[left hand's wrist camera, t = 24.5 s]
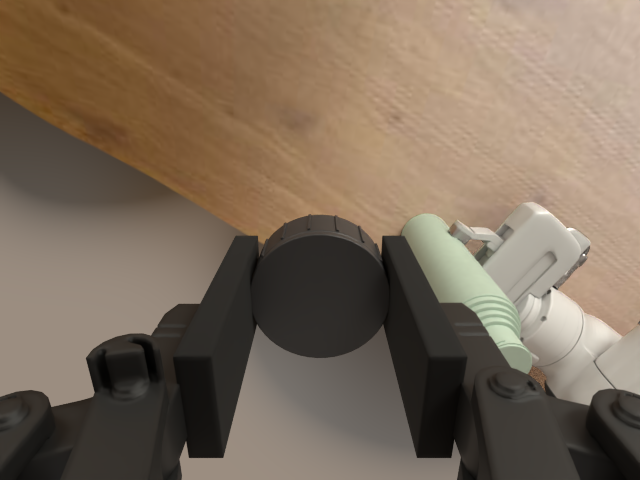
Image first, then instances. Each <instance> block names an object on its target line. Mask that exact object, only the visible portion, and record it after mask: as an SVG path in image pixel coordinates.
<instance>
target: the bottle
mask: <svg viewBox="0 0 640 480" xmlns="http://www.w3.org/2000/svg"><path fill="white" fill-rule="evenodd" d="M449 229H450V228H449V227H448V226H447V224H446V223H445V222H444V221H443V220H442V219H441V218H440V217H438V216H436V215H433V214H420V215H417V216H415V217H413V218H412V219H410V220H409V221H408V222H407V223H406V225H405V226H404V228H403V230H402V234H401V236H405V238H406V240H407V242H408V243H409V245H410V247H411V249H412V251H413V253H414V255H415V257H416V259H417V261H418V263H419V265H420V266H421V268H422V270H423V272H424V274H425V276H426V278H427V280H428V282H429V284H430V286H431V288H432V289H433V291H434V293H435V295H436V297H437V299H438V301H439V303H463V304H464V305H466V306H467V307H468V308H470V309H471V310H473V311H474V312H475V313H476V314H477V316H478V317H479V319H480V320H481V322H482V323H483V326H485V328H486V330H487V331H488V333H489V336H491V337H492V339H493V340H494V342H495V343H496V345H497V346H498V348H499V349H500V351H501V353H502V354H503V356H504V357H505V359H506V360H507V362H508V363H509V365H510V366H511V368H514V369H517V370H519V371H522V372H524V373H526V374H528V373H529V371H530V369H531V367H532V355H531V353H530V351H529V349H528V348H527V347H525V346H524V345H523V344H522V342H521V341H520V331H521V320H520V317H519V314H518V311H517V309H516V307H515V306H514V304H513V303H512V302H511V301H510V300H509V298H508V297H507V296H506V295H505V294H504V292H503V291H502V290H501V289H500V288H499V287H498V285H497V284H496V283H495V282H494V281H493V279H492V278H491V277H490V276H489V275H488V273H487V272H486V271H485V270H484V269H483V267H482V266H481V265H480V264H479V263H478V261H477V260H476V259H475V258H474V257H473V255H472V254H471V253H470V252H469V251H468V249H467V248H466V247H465V246H464V245H463V243H462V242H460V241H459V239H456V238H454V237H453V236H452V235H451V234H450V232H448V230H449Z"/></svg>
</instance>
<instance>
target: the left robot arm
mask: <svg viewBox="0 0 640 480" xmlns="http://www.w3.org/2000/svg"><path fill="white" fill-rule="evenodd" d="M381 257H382V260H383V265H384V269H385V272H386V275H387V278H388V281H389V285H390V293H389V307H388V314H387V316H386V319H385V321H384V323H383V325H384V329H385V333H386V337H387V341H388V345H389V349H390V352H391V356H392V360H393V364H394V368H395V372H396V376H397V380H398V384H399V388H400V392H401V396H402V400H403V404H404V408H405V412H406V416H407V420H408V424H409V428H410V432H411V436H412V440H413V443H414V448H415V452H416V456H417V458H451V456H452V450H453V444H454V439H455V442H456V445H457V447H458V450H459V453H460V455H461V461H460V466H459V472H458V478H457V480H640V395H638V394H636V393H632V392H629V391H626V390H620V389H611V388H609V389H604V390H599V391H598V392H596V393H595V394H594V395H593V397H592V400H591V403H590V406H589V405H585V404H580V403H576V402H571V401H567V400H562V399H558V398H555V397H551V396H548V395H546V393H545V391H544V390H543V388H542V387H541V385H540V384H539V383H538V382H537V381H536V380H535V379H533V378H532V377H531V376H530V375H528V374H526V373H524V372H522V371H519V370H517V369H514V368H511V366H510V365H509V363H508V362H507V360H506V359H505V357H504V356H503V354H502V353H501V351H500V349H499V348H498V346H497V345H496V343H495V342H494V340H493V339H492V337H491V336H489V333H488V331H487V330H486V328H485V326H483V323H482V322H481V320H480V319H479V317H478V316H477V314H476V313H475V312H474V311H473V310H471V309H470V308H468V307H467V306H466V305H464V304H463V303H439V301H438V299H437V297H436V295H435V293H434V291H433V289H432V288H431V286H430V284H429V282H428V280H427V278H426V276H425V274H424V272H423V270H422V268H421V266H420V265H419V263H418V261H417V259H416V257H415V255H414V253H413V251H412V249H411V247H410V245H409V243H408V242H407V240H406V238H405V236H383V237H382V253H381ZM258 260H259V249H258V236H235V238H234V240H233V242H232V244H231V246H230V248H229V250H228V252H227V254H226V256H225V257H224V259H223V261H222V263H221V265H220V267H219V269H218V271H217V273H216V275H215V277H214V278H213V281H212V282H211V284H210V286H209V288H208V290H207V292H206V294H205V296H204V298H203V300H202V302H201V303H200V304H178V305H177V306H175V307H174V308H173V309H171V310H170V311H168V312H167V313H166V314H165V315H164V316H163V318H162V319H161V321H160V322H159V324H158V327H157V328H156V329H155V330H154V332H153V333H152V335H151V336H150V335H146V334H127V335H122V336H118V337H115V338H112V339H110V340H108V341H105V342H103V343H102V344H100V345H99V346H97V347H96V348H94V349H93V350H92V351H91V352H90V354H89V355H88V356H87V357H86V360H87V364H88V368H89V372H90V376H91V380H92V383H93V387H94V391H95V393H94V396H93V397H91V398H88V399H85V400H81V401H77V402H72V403H68V404H63V405H59V406H54V407H51V405H50V402H49V399H48V397H47V396H46V395H45V394H44V393H42V392H39V391H33V390H28V391H19V392H14V393H11V394H8V395H5V396H2V397H0V480H181V479H182V473H181V466H180V461H179V458H180V456H181V453H182V450H183V447H184V445H185V442H187V448H188V455H189V458H223V457H224V453H225V449H226V445H227V441H228V437H229V433H230V429H231V425H232V421H233V417H234V413H235V409H236V405H237V401H238V397H239V393H240V389H241V385H242V381H243V377H244V373H245V369H246V365H247V361H248V358H249V354H250V350H251V346H252V342H253V338H254V334H255V330H256V326H257V323H256V321H255V318H254V316H253V314H252V303H251V288H250V287H251V281H252V277H253V274H254V271H255V268H256V265H257V262H258Z"/></svg>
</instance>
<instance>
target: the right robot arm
mask: <svg viewBox="0 0 640 480" xmlns="http://www.w3.org/2000/svg"><path fill="white" fill-rule="evenodd" d="M448 232H450V234H451V235H452V236H453V237H454V238H456V239H459V241H460V242H462V243H463V244H464V245H465V244H466V243H467V242H468V241H469V240H470V239H475V240H481V241H482V242H483V243H484V244H483V245H482V246H481V248H480V249H479V250H478V251H477V252H476V253H475V254H474V255H473V257H474V258H475V259H476V260H477V261H478V263H479V264H480V265H481V266H482V267H483V269H484V270H485V271H486V272H487V273H488V275H489V276H490V277H491V278H492V279H493V281H494V282H495V283H496V284H497V285H498V287H499V288H500V289H501V290H502V291H503V292H504V294H505V295H506V296H507V297H508V298H509V300H510V301H511V302H512V303H513V304H514V306H515V307H516V309H517V311H518V314H519V317H520V320H521V331H520V341H521V342H522V344H523V345H524V346H525V347H527V348H528V349H529V351H530V353H531V355H532V366H534V367H536V368H538V369H540V370H541V371H542V372H543V373H544V374H545V376H546V378H547V379H546V381H545V392H546V395H548V396H551V397H555V398H558V399H562V400H567V401H571V402H576V403H580V404H585V405H589V406H590V403H591V400H592V397H593V395H594V394H595V393H596V392H598V391H599V390H604V389H609V388H611V389H620V390H626V391H629V392H632V393H636V394H638V395H640V321H639V322H638V325H637V326H636V327H635V328H634V329H632V330H631V331H630V332H629V333H627V334H626V335H625V336H624V337H622V336H621V335H620V334H618V333H617V332H616V331H615V330H613V329H612V328H611V327H610V326H608V325H607V324H606V323H604V322H603V321H601V320H600V319H598V318H597V317H595V316H592V315H589V314H586V313H584V311H583V310H582V308H581V307H580V306H579V305H578V304H577V303H576V302H575V301H573V300H572V299H570V298H569V297H568V296H566V295H565V294H563V293H562V292H560V291H559V290H558V288H559V287H560V286H561V285H562V284H563V283H564V282H565V281H566V280H567V279H568V278H569V277H570V276H571V274H572V273H573V272H574V271H575V270H576V269H577V268H578V267H580V266H581V265H583V264H584V263H585V261H586V260H587V258H588V257H587V256H586V255H587V253H588V252H589V249H590V241H589V239H588V238H587V237H586V236H585V235H584V234H582V233H581V232H580V231H578V230H577V229H575V228H566V227H565V226H564V225H563V224H562V223H561V222H560V221H559V220H558V219H557V218H556V217H555V216H554V215H552V214H551V213H550V212H549V211H547V210H546V209H544V208H543V207H541V206H540V205H538V204H536V203H534V202H527V203H521V204H520V205H519V206H518V207H517V208H516V209H515V210H514V211H513V212H512V213H511V214H510V215H509V217H508V218H507V219H506V220H505V221H504V222H503V223H502V224H501V225H500V227H499V228H498V229H497V230H496V231H495V232H493V231H491V230H490V229H488V228H481V227H469V228H468V227H467V226H466V225H464V224H463V223H461V222H460V221H458V220H456V222H455V223H454V224H453V225H452V226H451V227H450V229H449V230H448Z"/></svg>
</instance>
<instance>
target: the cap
mask: <svg viewBox="0 0 640 480" xmlns="http://www.w3.org/2000/svg"><path fill="white" fill-rule="evenodd" d="M250 288H251V303H252V314H253V316H254V318H255V321H256V323H257V324H258V326H259V328H260V329H261V330H262V332H263V333H264V334H265V335H266V336H267V337H268V338H269V339H270V340H271V341H272V342H274V343H275V344H276V345H278V346H280V347H281V348H283V349H285V350H287V351H289V352H292V353H295V354H297V355H301V356H306V357H314V358H327V357H335V356H339V355H343V354H346V353H349V352H351V351H353V350H355V349H357V348H359V347H361V346H362V345H364V344H365V343H366V342H368V341H369V340H370V339H371V338H372V337H373V336H374V335H375V334H376V333H377V332H378V330H379V329H380V328H381V326H382V324H383V323H384V321H385V319H386V316H387V314H388V307H389V293H390V285H389V281H388V278H387V275H386V272H385V269H384V265H383V260H382V257H381V254H380V251H379V248H378V245H377V244H374V242H373V240H372V239H371V238H370V237H369V236H368V234H367V233H365V232H364V231H363V230H362V229H361V226H357V225H355V224H353V223H351V222H350V221H348V220H345V219H342V218H339V217H338V216H336V215H335V216H329V215H311V214H309V215H308V216H305V217H301V218H298V219H295V220H293V221H290V222H289V223H284V225H283V226H282V227H281V228H279V229H278V230H277V231H276V232H275V233H274V234H273V235H272V236H271V237H270V238H269V239H266V241H265V244H264V247H263V249H262V252H261V254H260V257H259V260H258V262H257V265H256V268H255V271H254V274H253V277H252V281H251V287H250Z"/></svg>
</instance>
